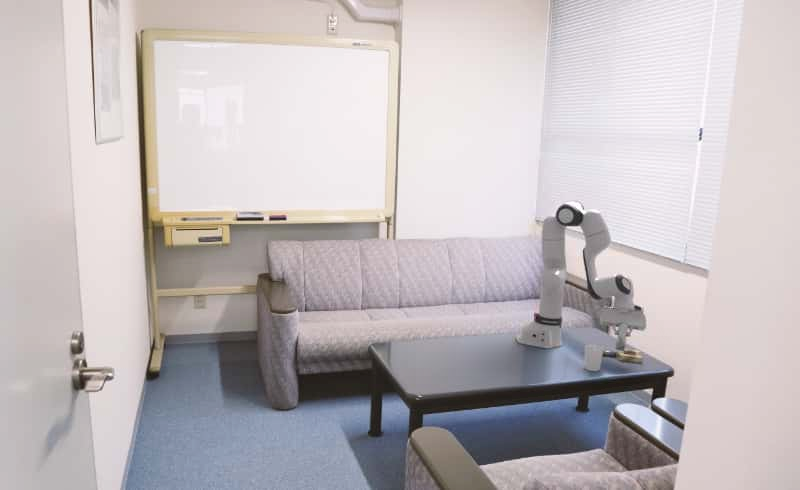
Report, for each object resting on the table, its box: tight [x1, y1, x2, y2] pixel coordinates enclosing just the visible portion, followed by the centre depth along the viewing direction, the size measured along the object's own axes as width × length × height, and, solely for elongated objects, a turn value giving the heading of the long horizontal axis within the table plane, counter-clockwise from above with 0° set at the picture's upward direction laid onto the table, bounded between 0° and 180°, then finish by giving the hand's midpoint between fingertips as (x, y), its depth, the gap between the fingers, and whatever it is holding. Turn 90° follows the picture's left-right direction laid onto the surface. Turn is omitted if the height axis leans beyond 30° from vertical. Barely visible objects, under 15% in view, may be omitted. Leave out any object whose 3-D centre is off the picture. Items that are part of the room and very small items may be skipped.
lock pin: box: [602, 350, 618, 358], centre depth 288 cm, size 8×2×2 cm, turn 75°
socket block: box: [616, 348, 643, 364], centre depth 287 cm, size 10×10×2 cm
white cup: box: [583, 343, 604, 372], centre depth 270 cm, size 8×8×10 cm
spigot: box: [615, 323, 629, 351], centre depth 277 cm, size 4×4×12 cm
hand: (622, 335), depth 277 cm, fingers closed on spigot, 4 cm apart
